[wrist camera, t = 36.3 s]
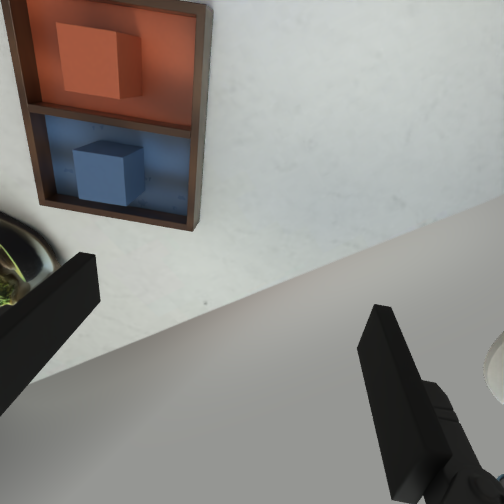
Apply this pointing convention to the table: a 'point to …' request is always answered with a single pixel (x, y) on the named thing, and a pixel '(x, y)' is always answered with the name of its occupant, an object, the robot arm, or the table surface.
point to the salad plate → (22, 260)
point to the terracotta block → (100, 61)
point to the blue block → (109, 172)
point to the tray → (118, 103)
